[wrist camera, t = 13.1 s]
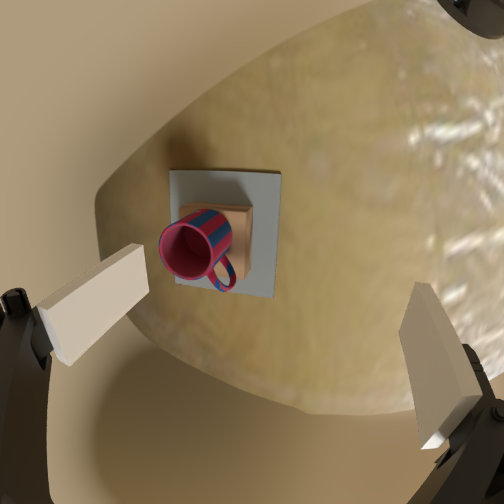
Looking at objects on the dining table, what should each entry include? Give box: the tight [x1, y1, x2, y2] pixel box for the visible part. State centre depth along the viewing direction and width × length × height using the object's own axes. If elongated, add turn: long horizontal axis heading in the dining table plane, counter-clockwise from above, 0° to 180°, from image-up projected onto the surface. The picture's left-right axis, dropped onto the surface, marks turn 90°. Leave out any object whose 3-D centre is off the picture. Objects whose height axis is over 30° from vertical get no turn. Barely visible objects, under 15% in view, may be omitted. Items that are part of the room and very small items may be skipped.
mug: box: [159, 208, 237, 292], centre depth 34 cm, size 7×10×7 cm
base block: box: [179, 202, 253, 280], centre depth 39 cm, size 9×9×4 cm
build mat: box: [169, 170, 282, 298], centre depth 41 cm, size 18×16×1 cm
